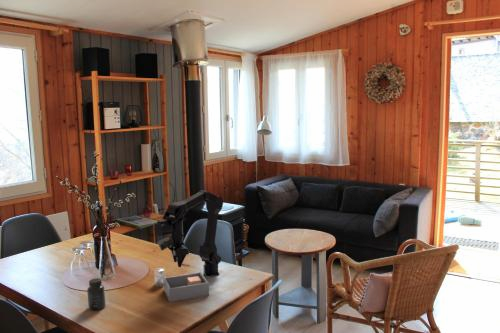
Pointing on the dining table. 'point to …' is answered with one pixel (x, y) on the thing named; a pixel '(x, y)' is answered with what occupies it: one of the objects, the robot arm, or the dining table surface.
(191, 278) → the terracotta cube
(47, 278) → the dining table surface
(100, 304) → the supplement bottle
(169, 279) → the tote
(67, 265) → the dining table surface
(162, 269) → the aluminium cylinder
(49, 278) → the dining table surface
